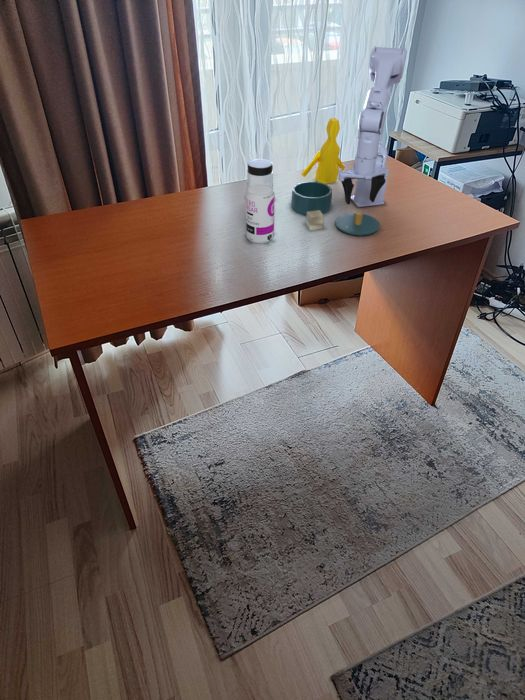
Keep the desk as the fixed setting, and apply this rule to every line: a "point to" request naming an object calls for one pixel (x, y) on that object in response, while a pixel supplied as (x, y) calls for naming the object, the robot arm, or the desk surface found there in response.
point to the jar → (260, 172)
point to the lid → (357, 224)
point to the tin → (311, 197)
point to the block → (314, 220)
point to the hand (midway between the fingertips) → (359, 201)
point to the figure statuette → (327, 156)
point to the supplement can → (260, 213)
